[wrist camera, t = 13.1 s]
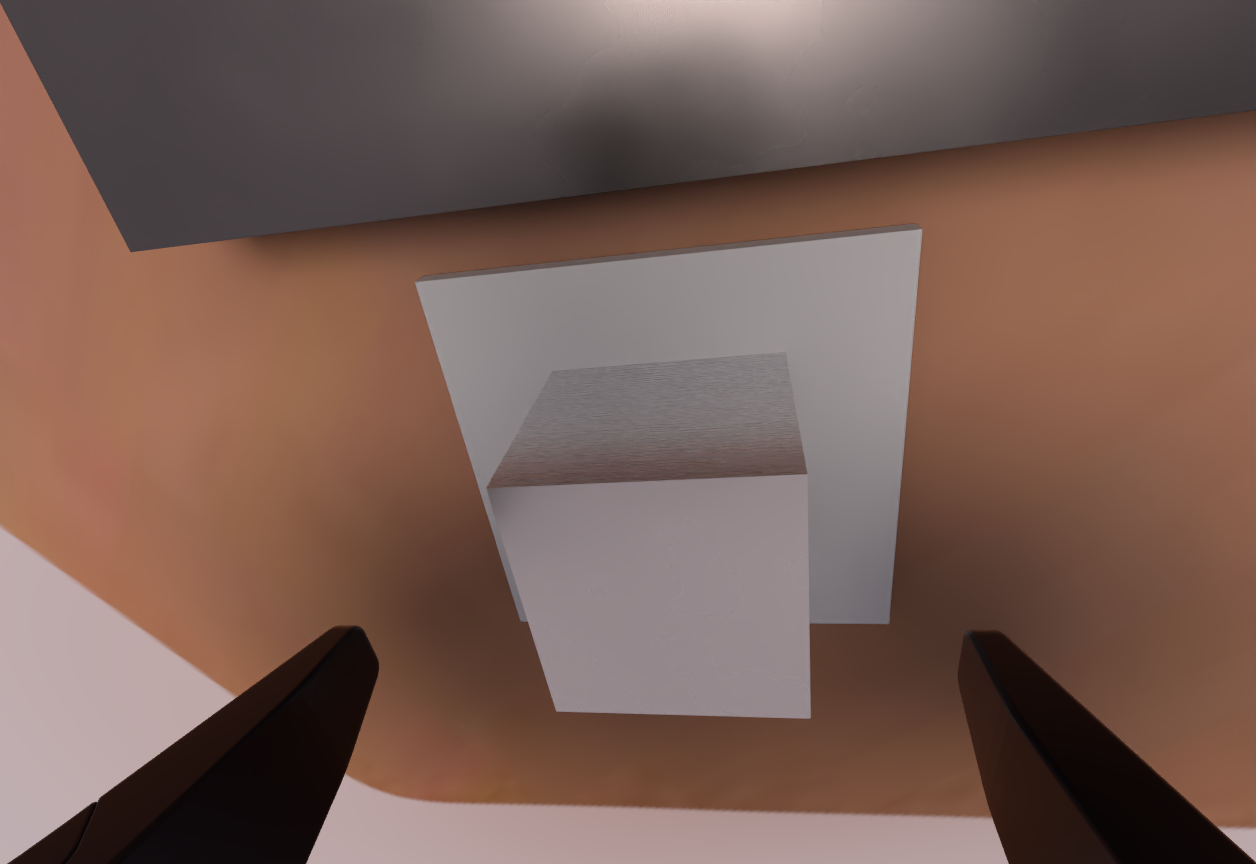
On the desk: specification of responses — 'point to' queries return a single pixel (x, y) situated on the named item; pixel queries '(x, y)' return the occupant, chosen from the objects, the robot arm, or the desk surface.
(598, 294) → the felt mat
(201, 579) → the desk surface
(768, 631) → the light grey block
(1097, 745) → the robot arm
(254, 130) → the dark grey base plate
